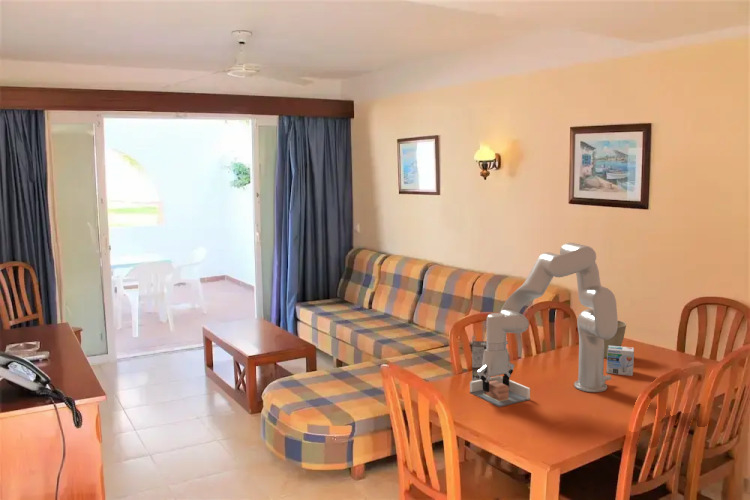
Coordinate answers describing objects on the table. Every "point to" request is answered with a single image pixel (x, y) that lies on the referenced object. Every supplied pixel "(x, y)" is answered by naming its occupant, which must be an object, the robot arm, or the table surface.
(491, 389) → the block
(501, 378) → the corner arena
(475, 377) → the coffee box
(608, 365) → the light bulb box
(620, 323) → the plant pot
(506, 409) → the table surface
